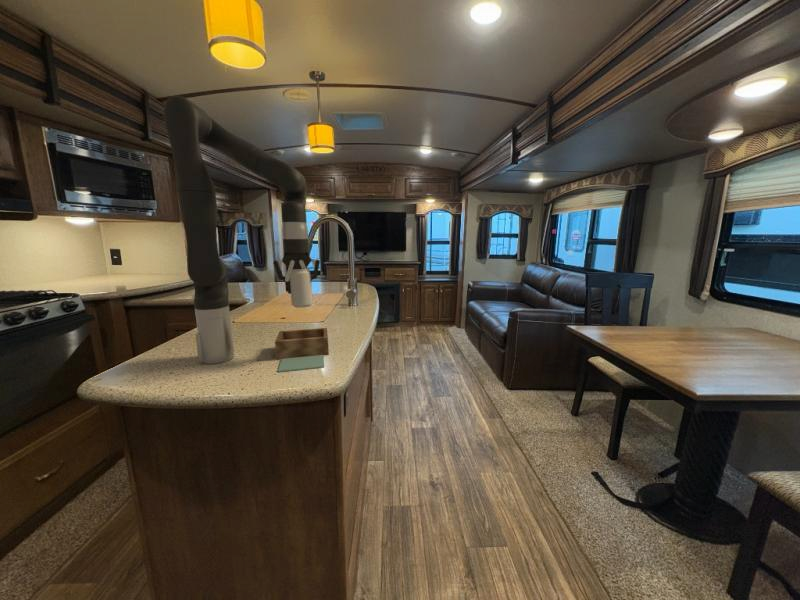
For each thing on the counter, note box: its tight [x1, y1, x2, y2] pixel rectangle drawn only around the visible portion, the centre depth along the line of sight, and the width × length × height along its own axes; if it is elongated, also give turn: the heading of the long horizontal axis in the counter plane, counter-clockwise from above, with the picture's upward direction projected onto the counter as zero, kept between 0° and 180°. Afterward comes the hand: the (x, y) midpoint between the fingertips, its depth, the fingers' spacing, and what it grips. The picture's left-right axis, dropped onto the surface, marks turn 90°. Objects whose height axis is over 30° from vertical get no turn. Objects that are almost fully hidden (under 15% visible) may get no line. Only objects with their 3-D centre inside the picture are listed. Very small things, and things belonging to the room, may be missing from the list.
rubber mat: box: [277, 355, 325, 373], centre depth 95 cm, size 13×10×1 cm
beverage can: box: [289, 267, 313, 309], centre depth 97 cm, size 6×6×12 cm
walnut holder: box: [274, 327, 330, 360], centre depth 106 cm, size 16×12×6 cm
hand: (299, 292), depth 97 cm, fingers closed on beverage can, 5 cm apart
